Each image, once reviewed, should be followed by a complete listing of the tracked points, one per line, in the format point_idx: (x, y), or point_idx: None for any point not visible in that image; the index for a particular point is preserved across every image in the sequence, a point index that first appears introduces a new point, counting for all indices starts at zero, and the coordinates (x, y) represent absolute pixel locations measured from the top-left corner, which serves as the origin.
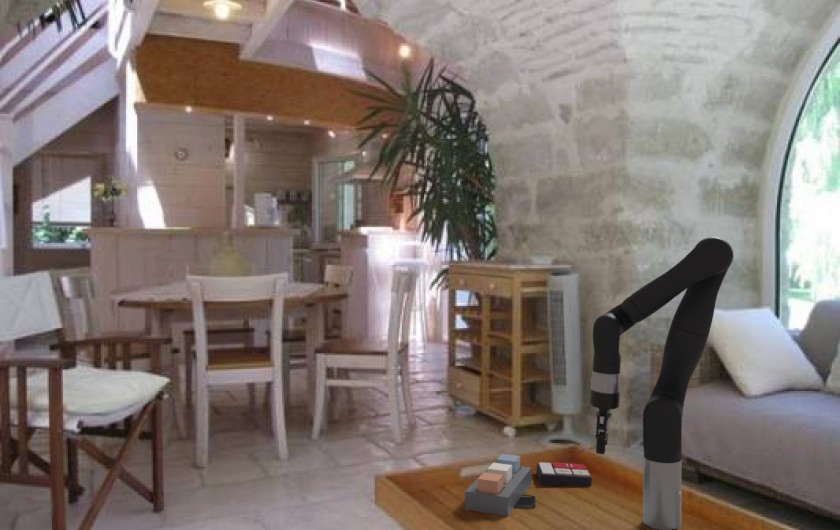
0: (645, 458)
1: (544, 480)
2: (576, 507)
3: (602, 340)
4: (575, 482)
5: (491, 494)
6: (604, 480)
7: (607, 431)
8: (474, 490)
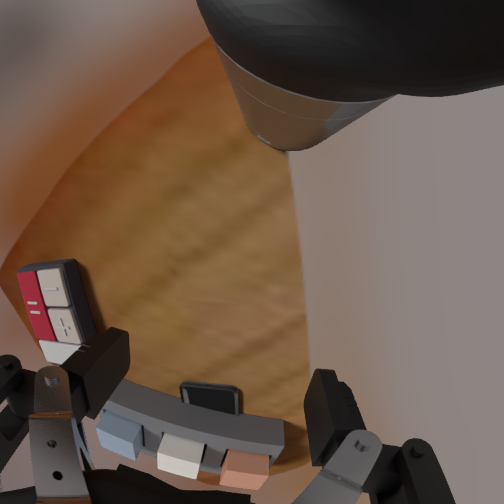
0: (366, 102)
1: None
2: (211, 309)
3: None
4: (80, 296)
5: (271, 461)
6: (43, 226)
7: (343, 480)
8: None
